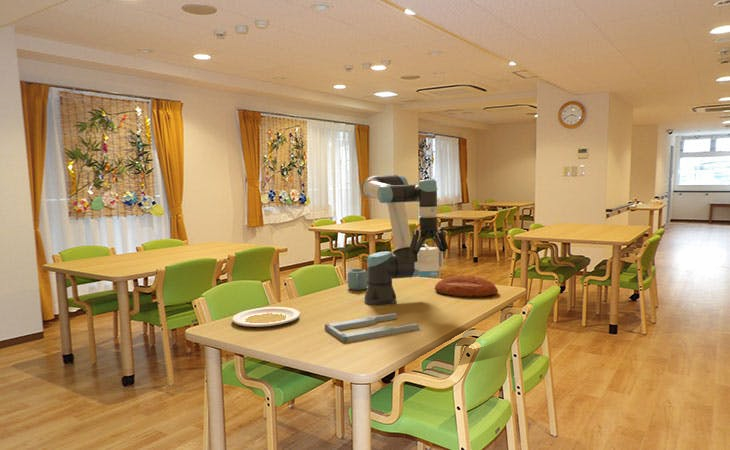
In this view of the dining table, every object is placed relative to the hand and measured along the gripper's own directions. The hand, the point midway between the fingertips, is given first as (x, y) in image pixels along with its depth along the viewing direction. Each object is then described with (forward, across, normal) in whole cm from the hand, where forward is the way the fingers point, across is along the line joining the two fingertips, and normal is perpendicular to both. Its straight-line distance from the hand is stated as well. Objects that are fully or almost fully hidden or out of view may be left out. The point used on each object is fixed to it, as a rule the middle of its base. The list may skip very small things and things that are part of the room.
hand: (429, 267), depth 214 cm
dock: (+20, -30, -5) cm, 37 cm away
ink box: (+3, 0, 0) cm, 3 cm away
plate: (+21, -62, +31) cm, 72 cm away
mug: (+20, -3, +62) cm, 65 cm away
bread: (+21, +38, +23) cm, 49 cm away
